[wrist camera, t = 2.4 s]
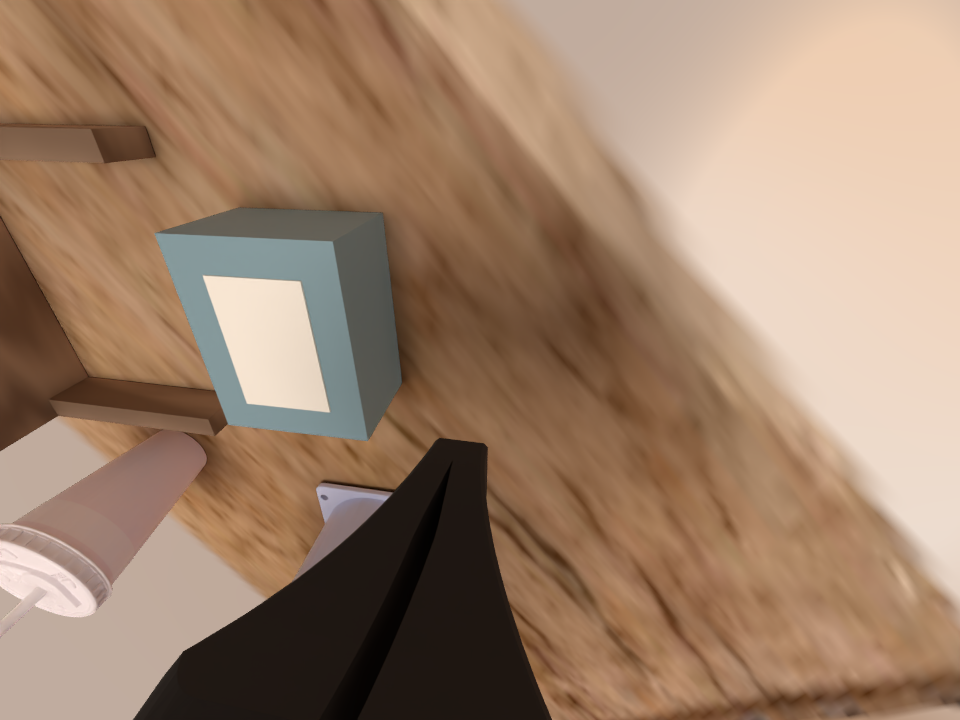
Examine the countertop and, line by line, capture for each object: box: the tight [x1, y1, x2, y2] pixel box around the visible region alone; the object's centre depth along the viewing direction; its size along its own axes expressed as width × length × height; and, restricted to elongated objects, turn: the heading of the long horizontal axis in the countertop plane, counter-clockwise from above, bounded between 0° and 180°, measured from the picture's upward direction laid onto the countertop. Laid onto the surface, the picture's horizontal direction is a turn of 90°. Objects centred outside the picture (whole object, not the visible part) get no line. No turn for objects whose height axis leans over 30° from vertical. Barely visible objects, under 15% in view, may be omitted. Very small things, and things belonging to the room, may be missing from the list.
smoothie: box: [0, 430, 207, 637], centre depth 23 cm, size 6×6×14 cm
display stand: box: [0, 124, 228, 451], centre depth 21 cm, size 15×12×6 cm
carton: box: [155, 208, 402, 441], centre depth 19 cm, size 9×7×5 cm
